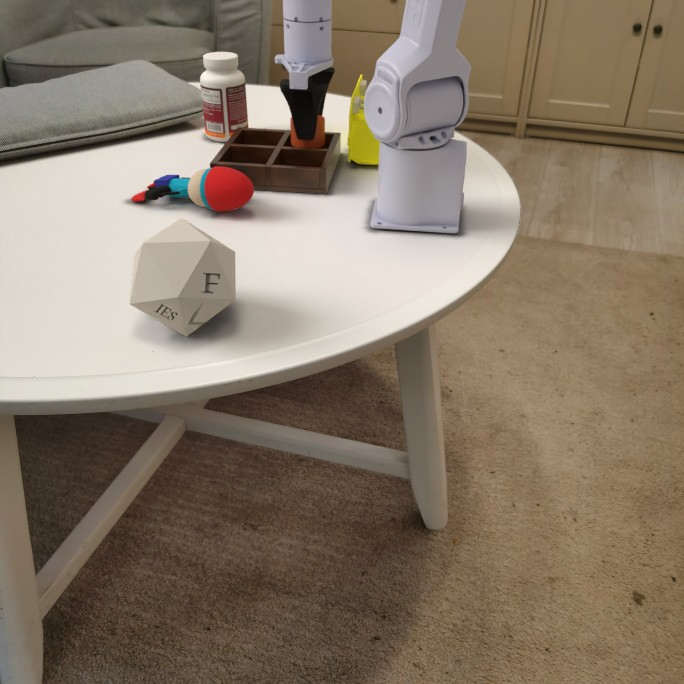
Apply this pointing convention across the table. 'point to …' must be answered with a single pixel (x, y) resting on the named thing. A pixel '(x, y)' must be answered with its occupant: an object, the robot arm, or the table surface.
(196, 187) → the toy figure
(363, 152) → the yellow toy chassis
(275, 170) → the grid
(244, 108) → the pill bottle
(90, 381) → the table surface
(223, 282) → the die
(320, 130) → the orange short cylinder
